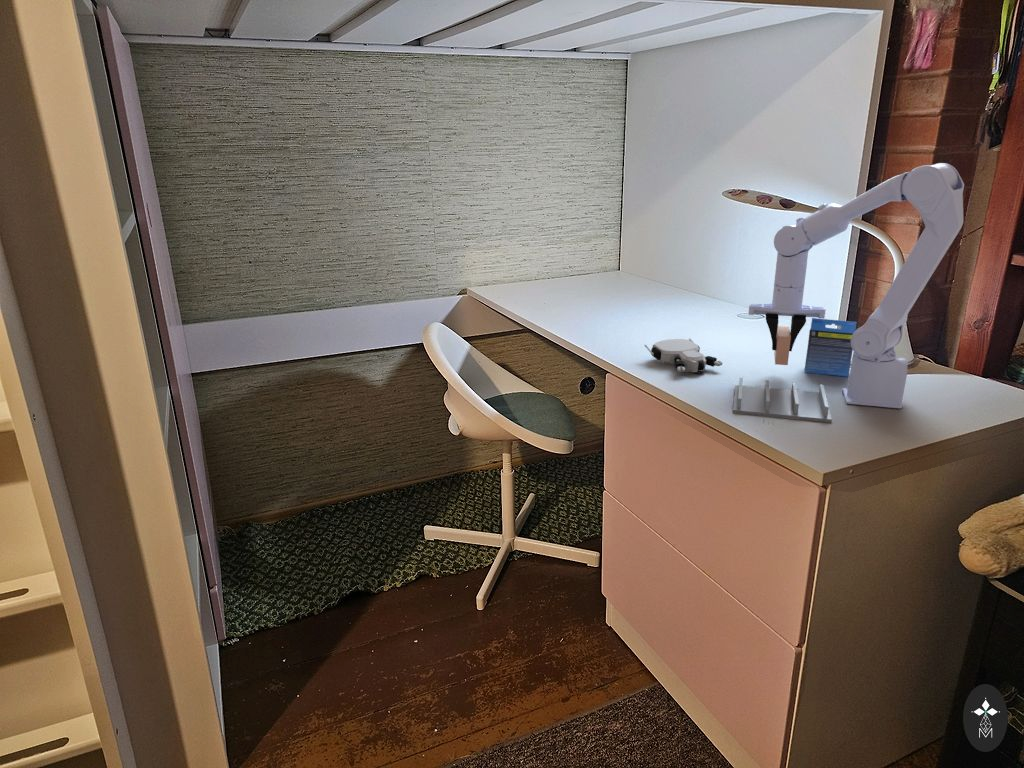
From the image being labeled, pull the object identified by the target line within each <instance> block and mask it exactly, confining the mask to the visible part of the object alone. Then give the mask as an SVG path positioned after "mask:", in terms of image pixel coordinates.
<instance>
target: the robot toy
mask: <svg viewBox="0 0 1024 768" xmlns="http://www.w3.org/2000/svg"><path fill="white" fill-rule="evenodd" d="M644 348H646V349H647V351H648V352H649V353H650V355H651V356H652V357H653V358H654V359H656V360H658V362H660V363H661V364H664V365H665V364H674V367H675V370H676V371H677V372H685V373H698V372H705V371H706V365H707V366H710V367H720V366H722V365H723V361H721V360H718V358H717V357H715V356H711V355H707V356H705V355H704V354H703V353H701V352H700V349H701V347H700V346H699V345H698V344H697V343H695V342H694V341H693V340H692V338H691V337H690V338H688V339H685V338H674V339H664V340H660V341H656V342H655V343H654V344H652V348H651V349H650V348H649V347H648V345H647V344H644Z"/></svg>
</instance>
